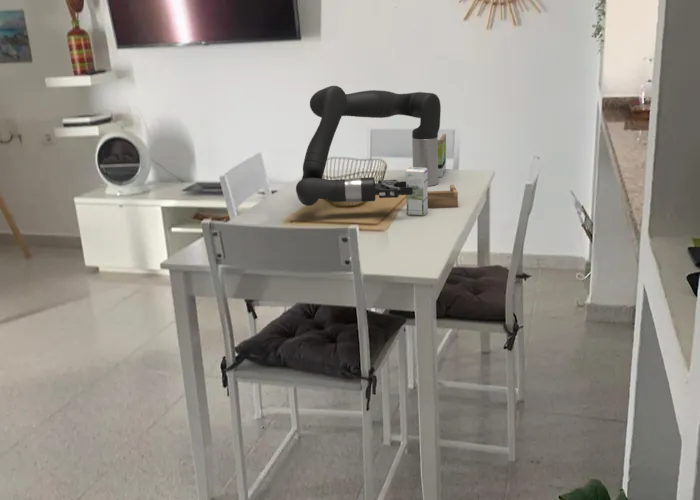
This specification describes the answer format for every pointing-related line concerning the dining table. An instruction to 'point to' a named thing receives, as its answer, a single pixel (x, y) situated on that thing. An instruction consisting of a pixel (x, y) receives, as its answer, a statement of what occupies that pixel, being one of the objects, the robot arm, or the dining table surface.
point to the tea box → (441, 154)
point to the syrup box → (417, 191)
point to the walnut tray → (443, 198)
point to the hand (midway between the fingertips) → (411, 187)
